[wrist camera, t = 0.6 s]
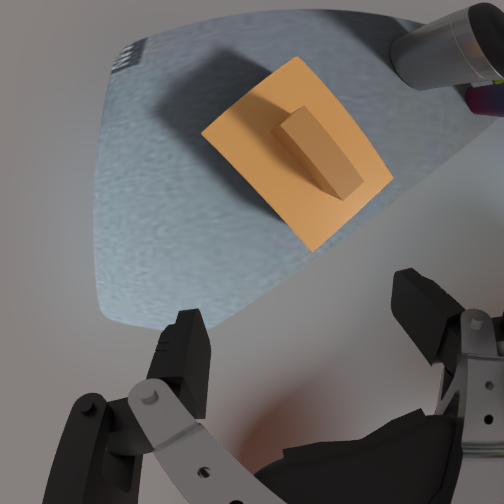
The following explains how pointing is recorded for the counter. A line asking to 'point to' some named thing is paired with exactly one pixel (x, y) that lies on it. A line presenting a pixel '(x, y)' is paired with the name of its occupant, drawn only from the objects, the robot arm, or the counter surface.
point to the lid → (300, 152)
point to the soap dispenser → (498, 81)
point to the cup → (486, 100)
